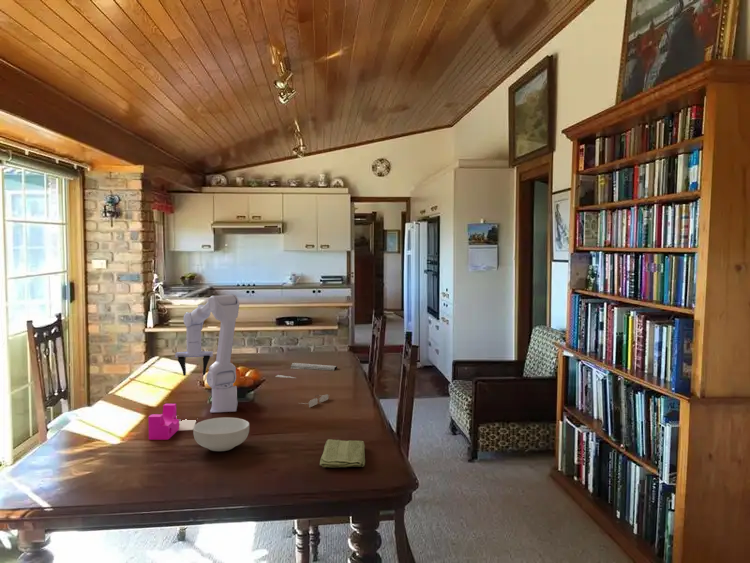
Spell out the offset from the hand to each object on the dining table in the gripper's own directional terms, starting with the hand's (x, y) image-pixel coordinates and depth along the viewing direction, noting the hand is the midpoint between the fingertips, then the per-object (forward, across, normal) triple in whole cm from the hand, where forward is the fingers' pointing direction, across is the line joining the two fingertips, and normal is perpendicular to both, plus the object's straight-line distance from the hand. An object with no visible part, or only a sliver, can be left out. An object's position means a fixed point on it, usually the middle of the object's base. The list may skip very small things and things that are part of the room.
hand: (194, 374), depth 229 cm
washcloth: (+11, -51, +74) cm, 91 cm away
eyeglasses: (+11, -46, +16) cm, 50 cm away
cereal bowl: (+11, -15, +59) cm, 62 cm away
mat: (+11, -48, -32) cm, 59 cm away
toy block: (+10, +4, +41) cm, 42 cm away
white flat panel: (+10, +3, +30) cm, 32 cm away
